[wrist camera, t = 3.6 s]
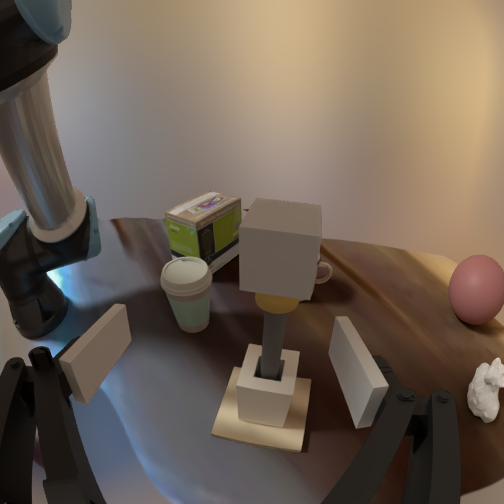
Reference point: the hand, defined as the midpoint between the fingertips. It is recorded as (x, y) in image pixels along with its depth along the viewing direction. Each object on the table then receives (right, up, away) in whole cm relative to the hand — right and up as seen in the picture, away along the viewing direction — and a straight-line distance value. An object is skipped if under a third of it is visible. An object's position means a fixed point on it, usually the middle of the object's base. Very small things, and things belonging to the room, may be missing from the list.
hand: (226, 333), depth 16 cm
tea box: (-9, +3, +51) cm, 51 cm away
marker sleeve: (+3, -16, +17) cm, 24 cm away
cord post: (+3, -18, +18) cm, 26 cm away
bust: (+40, -22, +13) cm, 48 cm away
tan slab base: (+3, -18, +18) cm, 26 cm away
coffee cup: (-9, -8, +33) cm, 35 cm away
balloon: (+53, -10, +31) cm, 63 cm away
